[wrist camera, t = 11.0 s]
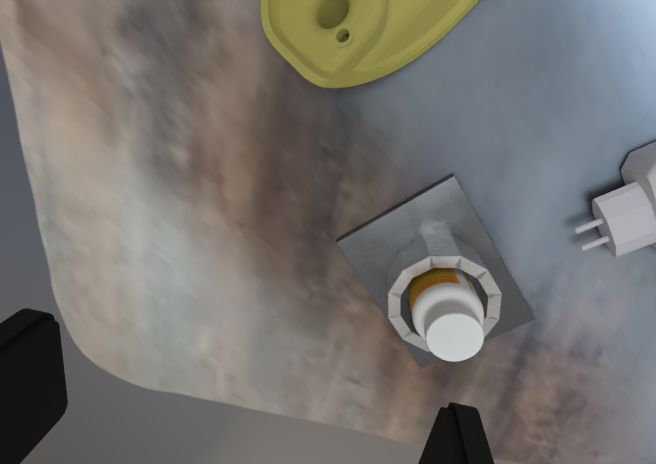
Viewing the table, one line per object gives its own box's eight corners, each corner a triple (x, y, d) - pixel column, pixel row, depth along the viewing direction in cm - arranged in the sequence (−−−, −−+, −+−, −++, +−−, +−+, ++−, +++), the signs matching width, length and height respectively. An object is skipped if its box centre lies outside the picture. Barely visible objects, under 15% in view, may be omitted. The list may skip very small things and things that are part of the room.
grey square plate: (336, 239, 38) (330, 263, 33) (452, 173, 35) (465, 188, 29) (419, 362, 42) (425, 401, 36) (531, 313, 38) (555, 348, 33)
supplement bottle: (395, 287, 38) (401, 349, 29) (425, 241, 36) (442, 291, 27) (444, 312, 38) (466, 382, 29) (477, 268, 36) (511, 327, 27)
